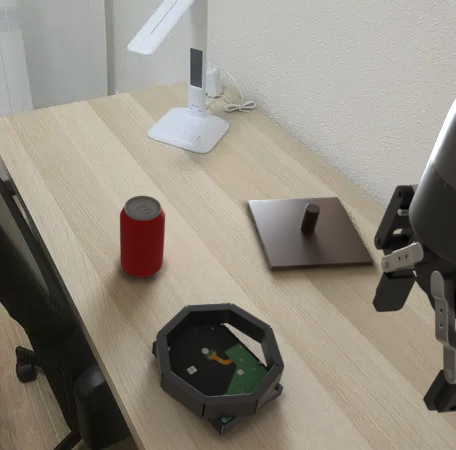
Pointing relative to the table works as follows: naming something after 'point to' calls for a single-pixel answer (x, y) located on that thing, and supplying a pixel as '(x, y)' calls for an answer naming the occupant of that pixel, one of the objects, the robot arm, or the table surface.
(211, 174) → the table surface
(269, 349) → the ring
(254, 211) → the stand
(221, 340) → the disk drive
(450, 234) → the robot arm
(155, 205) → the beverage can
